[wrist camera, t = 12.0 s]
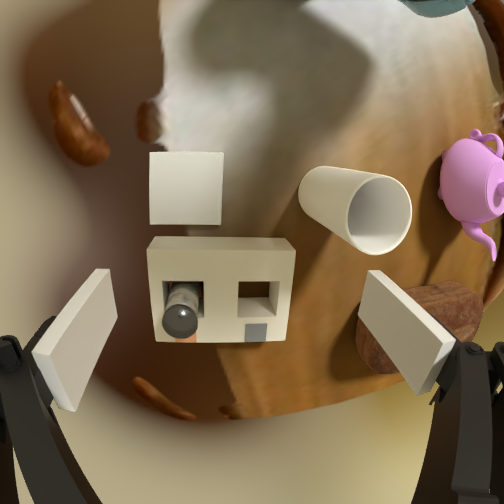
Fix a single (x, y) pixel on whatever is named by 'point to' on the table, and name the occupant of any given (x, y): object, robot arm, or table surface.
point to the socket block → (224, 285)
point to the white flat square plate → (186, 188)
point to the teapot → (474, 184)
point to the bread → (437, 304)
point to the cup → (357, 206)
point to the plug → (182, 309)
